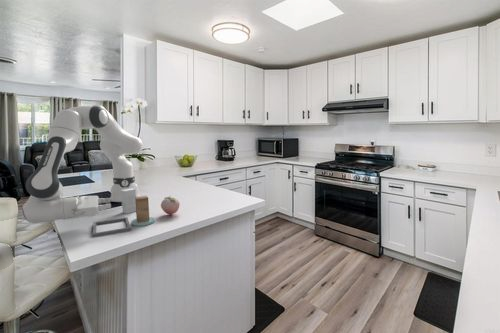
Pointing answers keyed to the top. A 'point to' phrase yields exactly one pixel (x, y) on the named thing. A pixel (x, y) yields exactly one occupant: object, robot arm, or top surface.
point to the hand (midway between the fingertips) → (110, 202)
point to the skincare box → (128, 200)
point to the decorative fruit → (170, 205)
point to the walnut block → (142, 209)
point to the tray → (111, 230)
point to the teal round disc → (135, 223)
